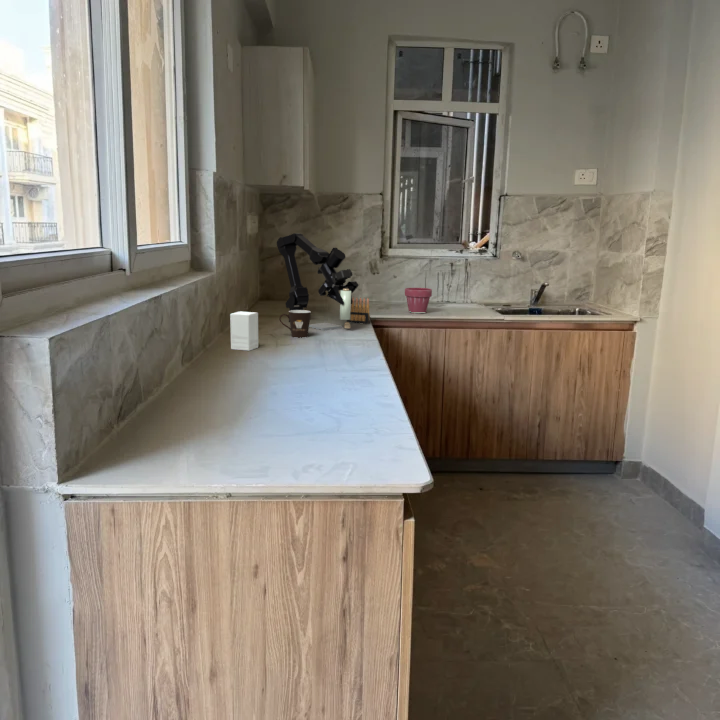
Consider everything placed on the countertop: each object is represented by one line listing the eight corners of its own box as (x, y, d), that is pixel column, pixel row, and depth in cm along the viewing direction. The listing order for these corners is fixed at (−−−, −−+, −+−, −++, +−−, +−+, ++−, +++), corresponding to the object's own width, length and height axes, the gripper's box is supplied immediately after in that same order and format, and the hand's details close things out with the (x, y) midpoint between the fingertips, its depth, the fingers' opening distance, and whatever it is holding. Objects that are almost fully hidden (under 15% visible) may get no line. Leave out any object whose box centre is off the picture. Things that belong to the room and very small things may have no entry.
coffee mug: (314, 336, 246) (314, 311, 244) (303, 339, 238) (303, 313, 236) (289, 333, 250) (289, 308, 248) (277, 336, 243) (278, 311, 241)
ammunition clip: (369, 323, 284) (370, 297, 281) (368, 324, 282) (369, 298, 280) (347, 322, 286) (347, 296, 284) (346, 322, 284) (346, 296, 282)
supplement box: (259, 347, 219) (259, 312, 216) (248, 351, 212) (248, 314, 209) (240, 345, 221) (240, 310, 218) (229, 349, 214) (229, 313, 211)
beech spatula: (350, 328, 268) (350, 326, 268) (344, 328, 268) (344, 326, 268) (350, 323, 281) (350, 322, 281) (344, 323, 281) (344, 321, 281)
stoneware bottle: (339, 319, 257) (340, 289, 254) (339, 318, 261) (340, 288, 259) (350, 320, 257) (351, 289, 254) (350, 318, 261) (351, 288, 259)
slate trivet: (306, 326, 268) (306, 324, 267) (325, 324, 275) (325, 322, 275) (323, 330, 260) (323, 328, 260) (342, 328, 268) (342, 325, 267)
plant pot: (399, 312, 325) (400, 288, 322) (411, 310, 337) (412, 286, 334) (423, 315, 318) (424, 290, 315) (435, 312, 329) (436, 288, 327)
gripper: (323, 262, 251) (340, 292, 245) (356, 262, 263) (373, 290, 258) (310, 280, 258) (327, 309, 252) (343, 279, 271) (359, 307, 265)
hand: (347, 303), depth 257 cm, fingers closed on stoneware bottle, 4 cm apart
